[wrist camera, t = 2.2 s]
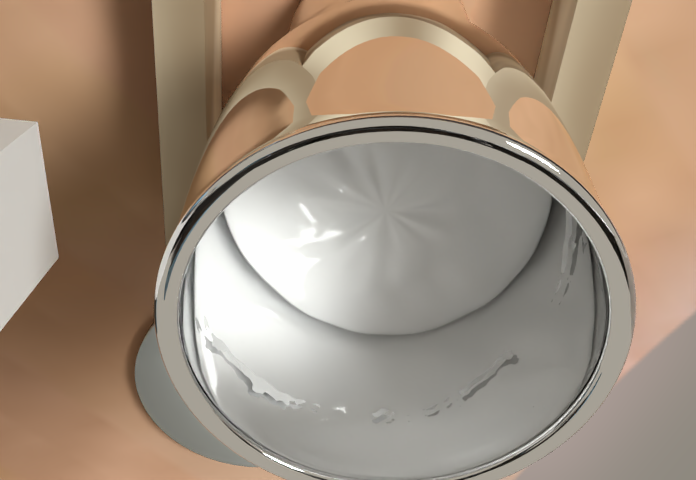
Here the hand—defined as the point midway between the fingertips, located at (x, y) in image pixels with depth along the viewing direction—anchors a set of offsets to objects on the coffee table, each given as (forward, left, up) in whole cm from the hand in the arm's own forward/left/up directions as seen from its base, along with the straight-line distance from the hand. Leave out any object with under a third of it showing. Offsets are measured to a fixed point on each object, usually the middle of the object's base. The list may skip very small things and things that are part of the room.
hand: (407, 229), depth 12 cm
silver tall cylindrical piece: (0, 0, -12) cm, 12 cm away
